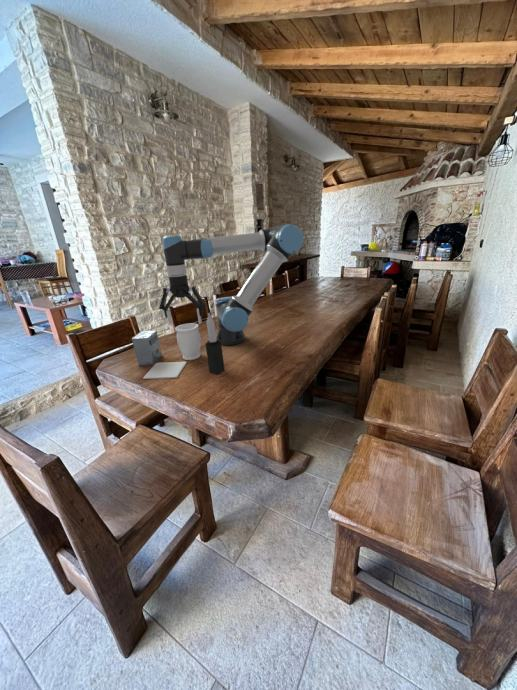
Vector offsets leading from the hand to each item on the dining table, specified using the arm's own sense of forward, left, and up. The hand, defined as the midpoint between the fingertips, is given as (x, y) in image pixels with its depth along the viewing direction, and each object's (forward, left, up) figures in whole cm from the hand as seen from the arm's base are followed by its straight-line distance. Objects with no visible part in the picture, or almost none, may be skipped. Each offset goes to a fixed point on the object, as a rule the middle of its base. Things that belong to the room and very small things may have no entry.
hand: (185, 323), depth 124 cm
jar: (0, 0, -17) cm, 17 cm away
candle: (-15, +15, -17) cm, 27 cm away
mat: (+7, +13, -16) cm, 22 cm away
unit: (+19, +2, -16) cm, 25 cm away
